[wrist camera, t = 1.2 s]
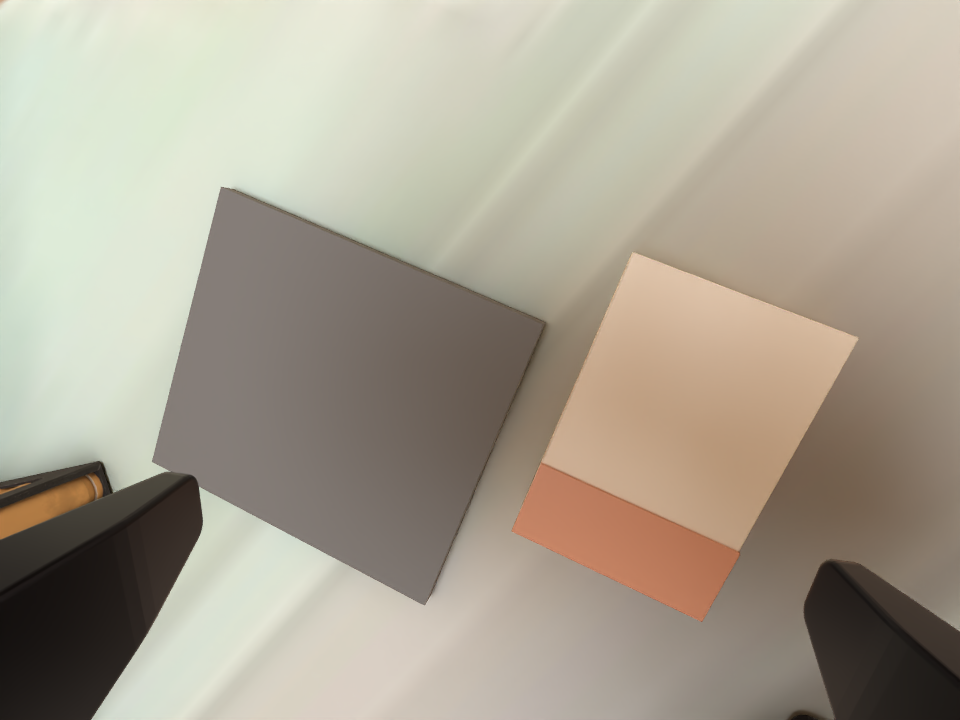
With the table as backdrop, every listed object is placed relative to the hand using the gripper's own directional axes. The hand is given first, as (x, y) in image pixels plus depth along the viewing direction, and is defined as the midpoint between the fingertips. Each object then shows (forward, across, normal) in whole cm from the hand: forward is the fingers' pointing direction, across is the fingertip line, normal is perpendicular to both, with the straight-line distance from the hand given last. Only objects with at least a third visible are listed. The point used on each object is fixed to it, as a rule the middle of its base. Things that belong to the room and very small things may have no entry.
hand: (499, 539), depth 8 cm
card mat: (+11, +6, +4) cm, 13 cm away
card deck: (+10, -5, +3) cm, 11 cm away
